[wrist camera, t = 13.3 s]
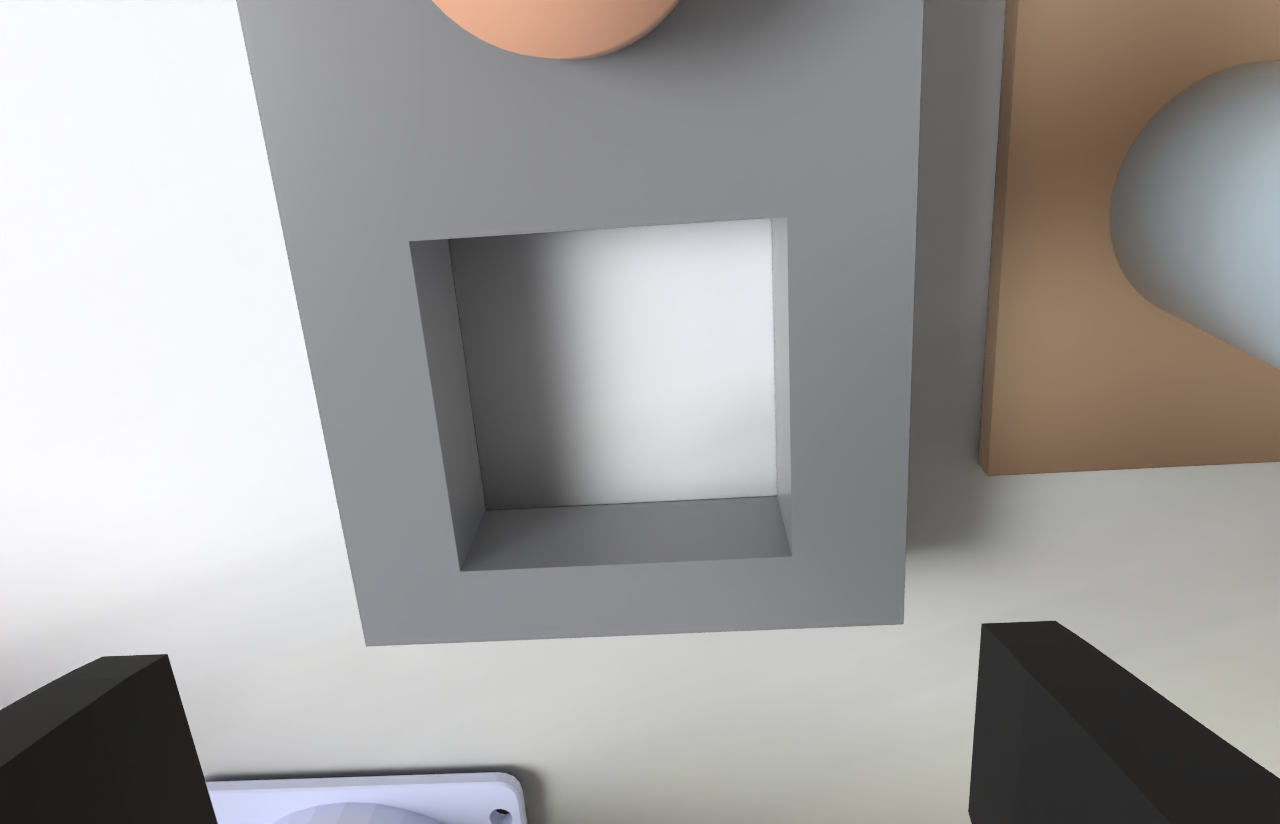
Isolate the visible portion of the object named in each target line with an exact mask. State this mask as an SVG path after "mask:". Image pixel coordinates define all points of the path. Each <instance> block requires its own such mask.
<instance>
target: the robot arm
mask: <svg viewBox="0 0 1280 824" xmlns="http://www.w3.org/2000/svg"><path fill="white" fill-rule="evenodd" d="M497 809H503V810H506V811H508V812H509V813H508V814H501V813H498V812H497V811H495V810H497ZM968 812H969V816H970V819H971V823H972V824H1280V778H1278V777H1277V776H1275V775H1274V774H1272V773H1271V772H1269V771H1268V770H1266V769H1265V768H1264V767H1262V766H1261V765H1259V764H1258V763H1256V762H1255V761H1254V760H1252V759H1251V758H1249V757H1248V756H1246V755H1245V754H1243V753H1242V752H1241V751H1239V750H1238V749H1236V748H1235V747H1233V746H1232V745H1230V744H1229V743H1228V742H1226V741H1225V740H1223V739H1222V738H1221V737H1219V736H1218V735H1216V734H1215V733H1214V732H1212V731H1211V730H1209V729H1208V728H1206V727H1205V726H1204V725H1202V724H1201V723H1199V722H1198V721H1197V720H1195V719H1194V718H1192V717H1191V716H1190V715H1188V714H1187V713H1185V712H1184V711H1183V710H1181V709H1180V708H1178V707H1177V706H1176V705H1174V704H1173V703H1171V702H1170V701H1169V700H1167V699H1166V698H1165V697H1163V696H1162V695H1160V694H1159V693H1158V692H1156V691H1155V690H1153V689H1152V688H1151V687H1149V686H1148V685H1146V684H1145V683H1144V682H1142V681H1141V680H1139V679H1138V678H1137V677H1135V676H1134V675H1133V674H1131V673H1130V672H1128V671H1127V670H1126V669H1124V668H1123V667H1121V666H1120V665H1119V664H1117V663H1116V662H1114V661H1113V660H1112V659H1110V658H1109V657H1107V656H1106V655H1105V654H1103V653H1102V652H1100V651H1099V650H1098V649H1096V648H1095V647H1093V646H1092V645H1091V644H1089V643H1088V642H1086V641H1085V640H1083V639H1082V638H1080V637H1079V636H1077V635H1076V634H1075V633H1073V632H1072V631H1070V630H1068V629H1067V628H1065V627H1064V626H1062V625H1061V624H1059V623H1058V622H1056V621H1038V622H1012V623H985V624H982V628H981V642H980V656H979V670H978V684H977V698H976V712H975V726H974V740H973V754H972V768H971V782H970V796H969V810H968ZM0 824H527V818H526V811H525V804H524V797H523V790H522V787H521V784H520V782H519V781H518V780H517V779H516V778H515V777H514V776H511V775H509V774H507V773H501V772H489V773H459V774H429V775H399V776H369V777H339V778H309V779H279V780H250V781H220V782H205V779H204V775H203V772H202V769H201V765H200V762H199V759H198V755H197V752H196V749H195V745H194V742H193V738H192V735H191V732H190V728H189V725H188V722H187V718H186V715H185V712H184V708H183V705H182V702H181V698H180V695H179V691H178V688H177V685H176V681H175V678H174V675H173V671H172V668H171V665H170V661H169V658H168V655H167V654H161V655H134V656H107V657H101V658H99V659H97V660H95V661H93V662H90V663H88V664H86V665H84V666H82V667H80V668H78V669H76V670H73V671H72V672H70V673H68V674H66V675H64V676H62V677H60V678H58V679H56V680H54V681H52V682H50V683H49V684H47V685H45V686H43V687H41V688H39V689H37V690H36V691H34V692H32V693H30V694H28V695H27V696H25V697H23V698H21V699H19V700H18V701H16V702H14V703H12V704H11V705H9V706H7V707H5V708H4V709H2V710H0Z"/></svg>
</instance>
